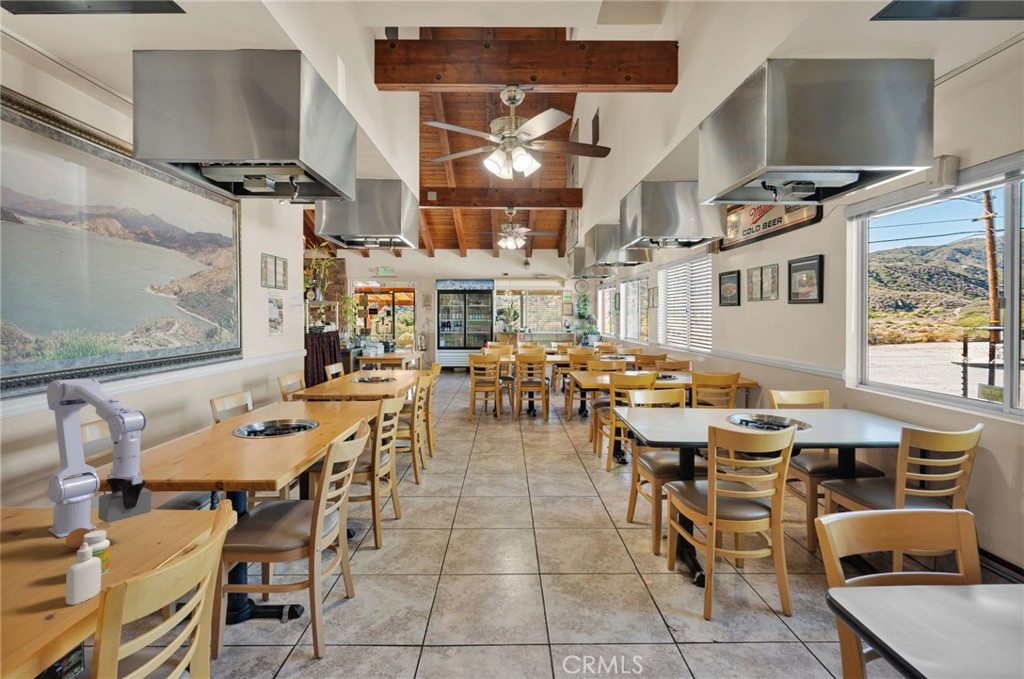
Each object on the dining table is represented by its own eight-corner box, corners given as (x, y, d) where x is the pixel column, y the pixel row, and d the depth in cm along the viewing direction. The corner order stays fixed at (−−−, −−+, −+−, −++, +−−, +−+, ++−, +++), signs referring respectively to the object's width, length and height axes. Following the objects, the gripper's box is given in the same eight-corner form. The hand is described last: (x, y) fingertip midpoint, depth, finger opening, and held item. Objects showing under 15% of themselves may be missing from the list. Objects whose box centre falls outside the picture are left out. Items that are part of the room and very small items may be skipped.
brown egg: (62, 548, 120) (63, 529, 120) (87, 541, 125) (87, 523, 125) (69, 553, 118) (69, 534, 118) (94, 546, 122) (94, 527, 122)
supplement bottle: (90, 581, 105) (91, 539, 105) (72, 578, 106) (73, 537, 106) (115, 570, 110) (116, 530, 110) (97, 567, 111) (98, 527, 111)
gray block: (98, 518, 122) (98, 495, 122) (141, 507, 130) (141, 486, 130) (107, 523, 119) (108, 500, 119) (150, 512, 127) (151, 490, 127)
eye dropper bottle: (64, 599, 97) (66, 544, 98) (99, 589, 102) (101, 536, 102) (66, 608, 95) (67, 550, 95) (102, 597, 99) (103, 542, 99)
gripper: (97, 455, 125) (95, 504, 125) (119, 463, 117) (117, 515, 117) (129, 450, 131) (127, 497, 131) (151, 457, 123) (150, 507, 123)
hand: (125, 505), depth 124 cm, fingers closed on gray block, 6 cm apart
